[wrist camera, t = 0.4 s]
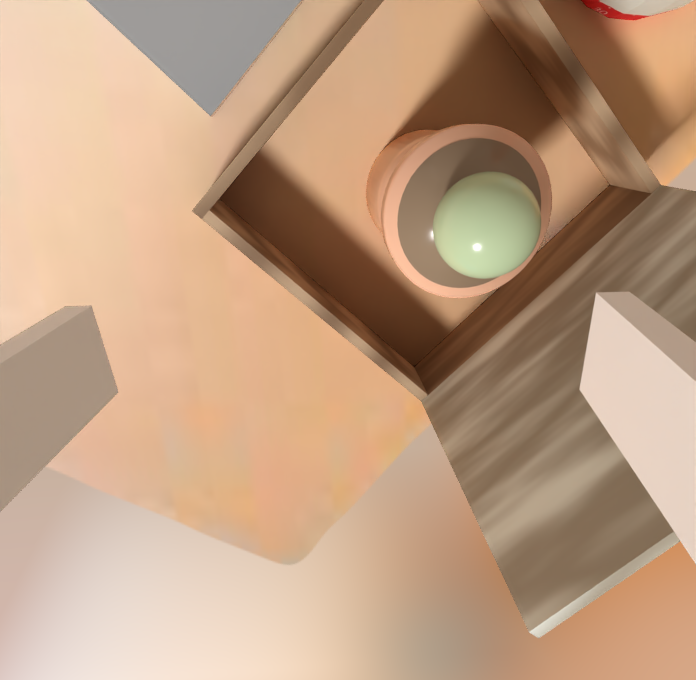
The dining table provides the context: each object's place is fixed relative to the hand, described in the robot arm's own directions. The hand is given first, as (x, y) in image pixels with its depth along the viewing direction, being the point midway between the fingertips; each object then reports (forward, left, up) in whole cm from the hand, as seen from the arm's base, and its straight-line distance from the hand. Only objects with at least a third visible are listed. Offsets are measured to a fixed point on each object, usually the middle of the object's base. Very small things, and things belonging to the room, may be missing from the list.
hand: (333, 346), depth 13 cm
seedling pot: (-4, +8, -27) cm, 29 cm away
